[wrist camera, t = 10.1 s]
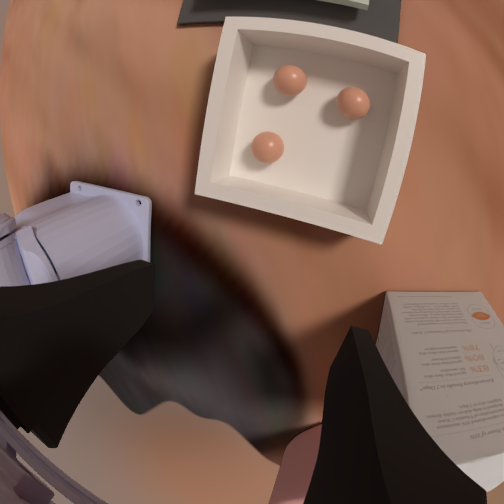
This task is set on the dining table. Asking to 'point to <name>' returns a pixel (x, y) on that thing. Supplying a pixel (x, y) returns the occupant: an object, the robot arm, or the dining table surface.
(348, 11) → the mat
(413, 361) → the small box
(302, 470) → the cake
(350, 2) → the lid
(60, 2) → the dining table surface
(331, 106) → the shallow white tray
